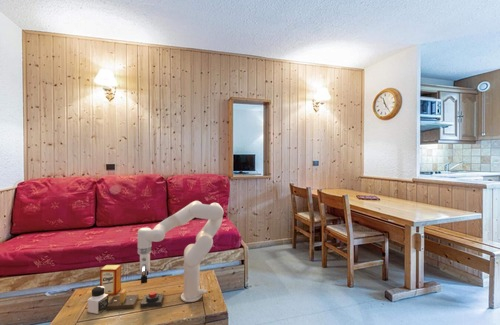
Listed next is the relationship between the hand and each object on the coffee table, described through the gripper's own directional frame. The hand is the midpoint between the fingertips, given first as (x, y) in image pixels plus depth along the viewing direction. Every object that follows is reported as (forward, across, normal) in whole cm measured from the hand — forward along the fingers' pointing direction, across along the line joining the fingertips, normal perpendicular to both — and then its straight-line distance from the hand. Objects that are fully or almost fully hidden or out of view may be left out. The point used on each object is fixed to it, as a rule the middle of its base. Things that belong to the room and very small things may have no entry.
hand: (144, 279), depth 144 cm
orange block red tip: (+11, +2, +12) cm, 16 cm away
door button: (+10, -1, -4) cm, 11 cm away
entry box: (+14, -1, -4) cm, 15 cm away
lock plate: (+14, +2, +12) cm, 18 cm away
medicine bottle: (+14, +1, +24) cm, 28 cm away
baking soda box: (+14, +18, +21) cm, 31 cm away
